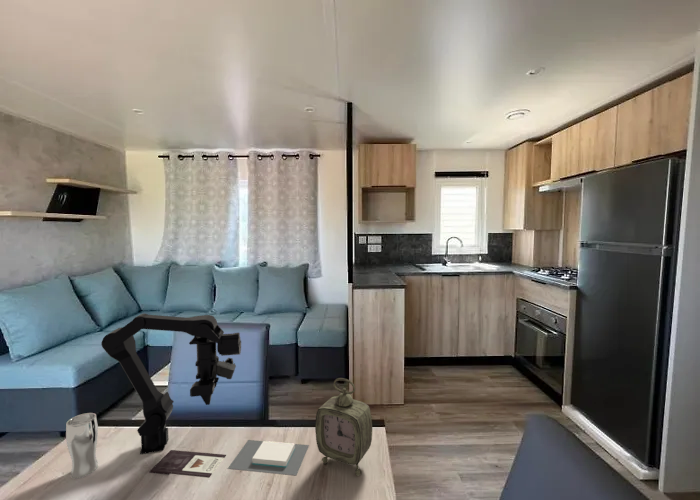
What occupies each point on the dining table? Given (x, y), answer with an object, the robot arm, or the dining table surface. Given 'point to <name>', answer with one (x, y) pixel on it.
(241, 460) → the mat
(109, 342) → the robot arm
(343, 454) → the tabletop clock
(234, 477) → the dining table surface
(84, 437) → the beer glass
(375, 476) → the dining table surface
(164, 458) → the chocolate bar
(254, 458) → the tile
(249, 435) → the dining table surface
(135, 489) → the dining table surface
